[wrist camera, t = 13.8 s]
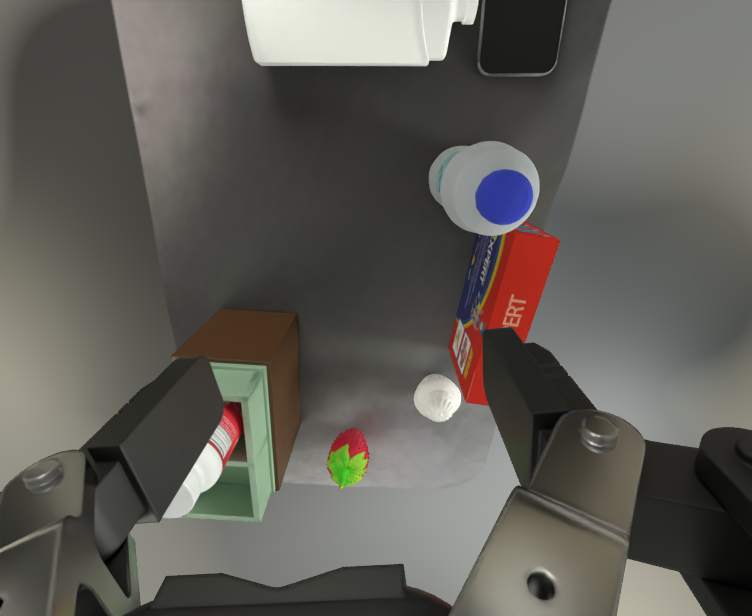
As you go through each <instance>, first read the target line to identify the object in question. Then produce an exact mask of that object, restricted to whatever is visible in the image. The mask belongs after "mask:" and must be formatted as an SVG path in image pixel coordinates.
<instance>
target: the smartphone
mask: <svg viewBox="0 0 752 616" xmlns="http://www.w3.org/2000/svg"><path fill="white" fill-rule="evenodd" d="M566 4H567V0H482V9H481V20H480V31H479V42H478V54H477V68H478V71H479V72H480V73H481V74H482V75H483V76H486V77H524V76H544V75H546V74H548V73H550V72H551V71H552V70H553V69H554V67H555V66H556V63H557V60H558V54H559V47H560V41H561V37H562V31H563V23H564V19H565V13H566V7H567V6H566Z"/></svg>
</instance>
